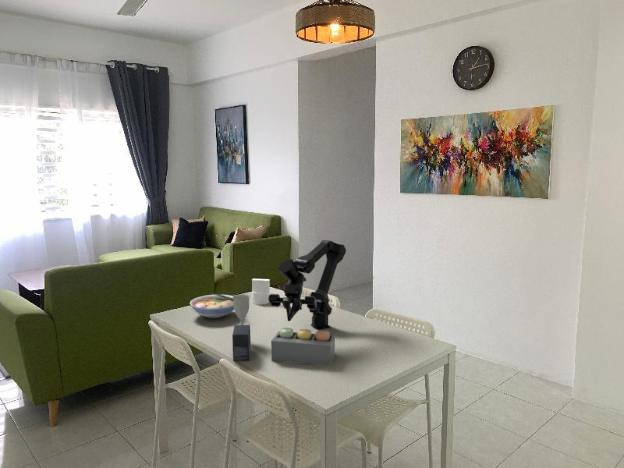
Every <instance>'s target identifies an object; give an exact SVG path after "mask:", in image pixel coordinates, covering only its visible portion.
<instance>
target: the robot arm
mask: <svg viewBox="0 0 624 468" xmlns="http://www.w3.org/2000/svg"><path fill="white" fill-rule="evenodd" d="M346 253H347V248H346V247H345V245H344V244H342V243H336V242H334V241H332V240H328V239H322V240H321V241H320V243H319V244H317V246H315V247H314V248H313V249H312V250H310V251H309V253H307V254H304V255H301V256H299V257H297V258H296V259H295V260H293V259H292V258H287V259H286V260H285V261H283V262H281V263H280V264H279V266H278V271H279V272H280V273H281V274H282V275H283V276H284V277H285V279H286V280H289V281H288V283H287V284H286V283H284V287H283V293H284V297H281V296H280V294H278V293H270V295H269V298H268V300H269V303H268V304H270V306H272V307H278V308H279V307H280V306H281V304H282V307H283V309H285V310H286V317H287V321H288V322H291V321H292V319H293V318H294V317H295V315H296V314H298V312H299V311H301V310H303V307H302V306H303V305H306V307H307V309H308V311H309V313H311V314H312V316H311V324H310V326H312V327H314V329H317V330H322V329H328V328H331V325H329V316H330V315H331V314H332V311H333V308H332V307H331V305H330V304H329V303H330V297H329V291H330V288H331V284H332V281H333V278H334V276H335V272H336V270H337V266H338V264H339V263H340V262H342V260H343V259H344V257H345V255H346ZM324 256H325V257H326V262H325V265H324V269H323V271H322V275H321V278H320V280H319V282H318V286H317V289H316V290H315V291H312V292H310V294H309V295H306V296H304V298H302V294H303V286H304V282H307V278H306V276H305V275H304V274H311V273H312V271H314V269H315V267H316V263H317V262H319V260H320V259H321V258H323V257H324Z"/></svg>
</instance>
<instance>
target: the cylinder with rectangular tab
mask: <svg viewBox="0 0 624 468" xmlns="http://www.w3.org/2000/svg"><path fill="white" fill-rule="evenodd" d="M270 281H271V279H267V278H252V279H251V286H252V287H251V290H252V291H251V293H252V296H251V299H252V300H251V301H252V304H254V305H261V306H262V305H268V304H270V303H269V300H268V298H269V295H270V294H271V293H270V292H271V291H270V290H271V285H270Z"/></svg>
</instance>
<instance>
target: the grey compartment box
mask: <svg viewBox="0 0 624 468" xmlns="http://www.w3.org/2000/svg"><path fill="white" fill-rule="evenodd" d="M335 338H336V335H335V334H330V341H329V342H327V341H316V333H312V332H311V340H302V339H298V331H293V339H289V338H280V330H279V331H277V333H276V334H275V335H274V336H273V338H272V339H271V341H270V342H271V343H270V344H271V345H270V347H271V349H270V350H271V356H270V357H271V361H275V362H276V361H277V362H285V363H298V364H310V365H321V366H331V364H332V361H333V359H334V357H335V354H336V339H335Z"/></svg>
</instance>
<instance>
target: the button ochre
mask: <svg viewBox="0 0 624 468" xmlns="http://www.w3.org/2000/svg"><path fill="white" fill-rule="evenodd" d="M297 332H298V339H302V340H311V333H312V330H311V329H308V328H303V329H299V330H298V329H297Z"/></svg>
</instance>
